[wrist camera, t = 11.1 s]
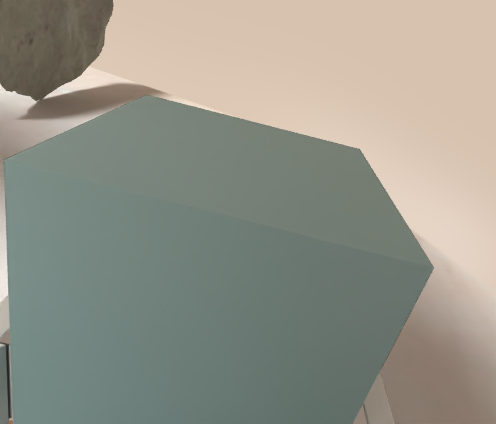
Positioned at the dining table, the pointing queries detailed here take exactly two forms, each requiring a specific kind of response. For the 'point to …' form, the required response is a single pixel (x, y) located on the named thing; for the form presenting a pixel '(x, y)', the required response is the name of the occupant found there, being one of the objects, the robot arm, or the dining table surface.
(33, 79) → the rock
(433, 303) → the dining table surface
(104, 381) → the block
